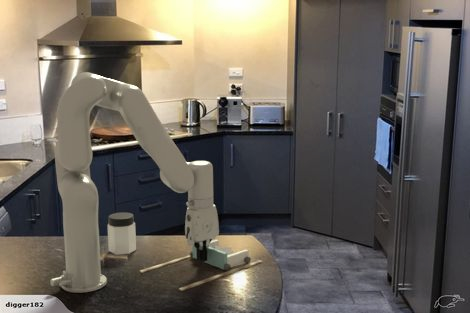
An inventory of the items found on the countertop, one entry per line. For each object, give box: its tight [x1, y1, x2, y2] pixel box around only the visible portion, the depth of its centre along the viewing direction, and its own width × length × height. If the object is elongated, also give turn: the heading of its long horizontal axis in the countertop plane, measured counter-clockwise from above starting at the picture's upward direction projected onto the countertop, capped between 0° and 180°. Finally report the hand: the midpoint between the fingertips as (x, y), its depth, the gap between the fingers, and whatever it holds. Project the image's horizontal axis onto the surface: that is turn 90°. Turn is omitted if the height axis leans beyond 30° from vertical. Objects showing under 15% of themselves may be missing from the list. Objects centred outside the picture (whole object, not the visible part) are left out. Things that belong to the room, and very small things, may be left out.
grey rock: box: [214, 245, 235, 255], centre depth 195 cm, size 10×6×6 cm, turn 9°
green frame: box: [189, 238, 252, 272], centre depth 196 cm, size 11×17×5 cm, turn 43°
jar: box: [107, 212, 137, 256], centre depth 205 cm, size 9×8×12 cm
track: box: [139, 254, 263, 292], centre depth 191 cm, size 32×20×1 cm, turn 133°
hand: (202, 260), depth 191 cm, fingers closed
